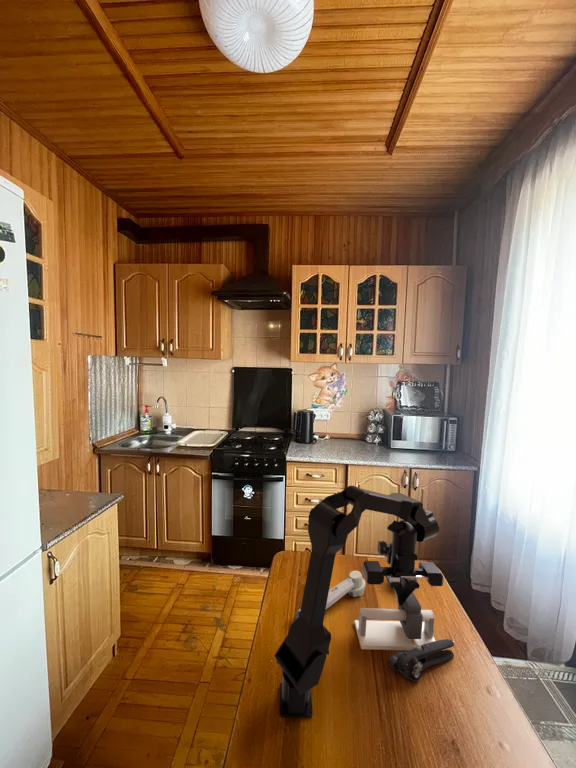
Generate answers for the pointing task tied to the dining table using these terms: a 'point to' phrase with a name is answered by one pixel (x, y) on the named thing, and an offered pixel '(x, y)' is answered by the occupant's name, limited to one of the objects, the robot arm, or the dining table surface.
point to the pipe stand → (390, 629)
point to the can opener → (421, 658)
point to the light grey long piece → (345, 589)
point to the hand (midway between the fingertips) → (399, 604)
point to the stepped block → (412, 617)
